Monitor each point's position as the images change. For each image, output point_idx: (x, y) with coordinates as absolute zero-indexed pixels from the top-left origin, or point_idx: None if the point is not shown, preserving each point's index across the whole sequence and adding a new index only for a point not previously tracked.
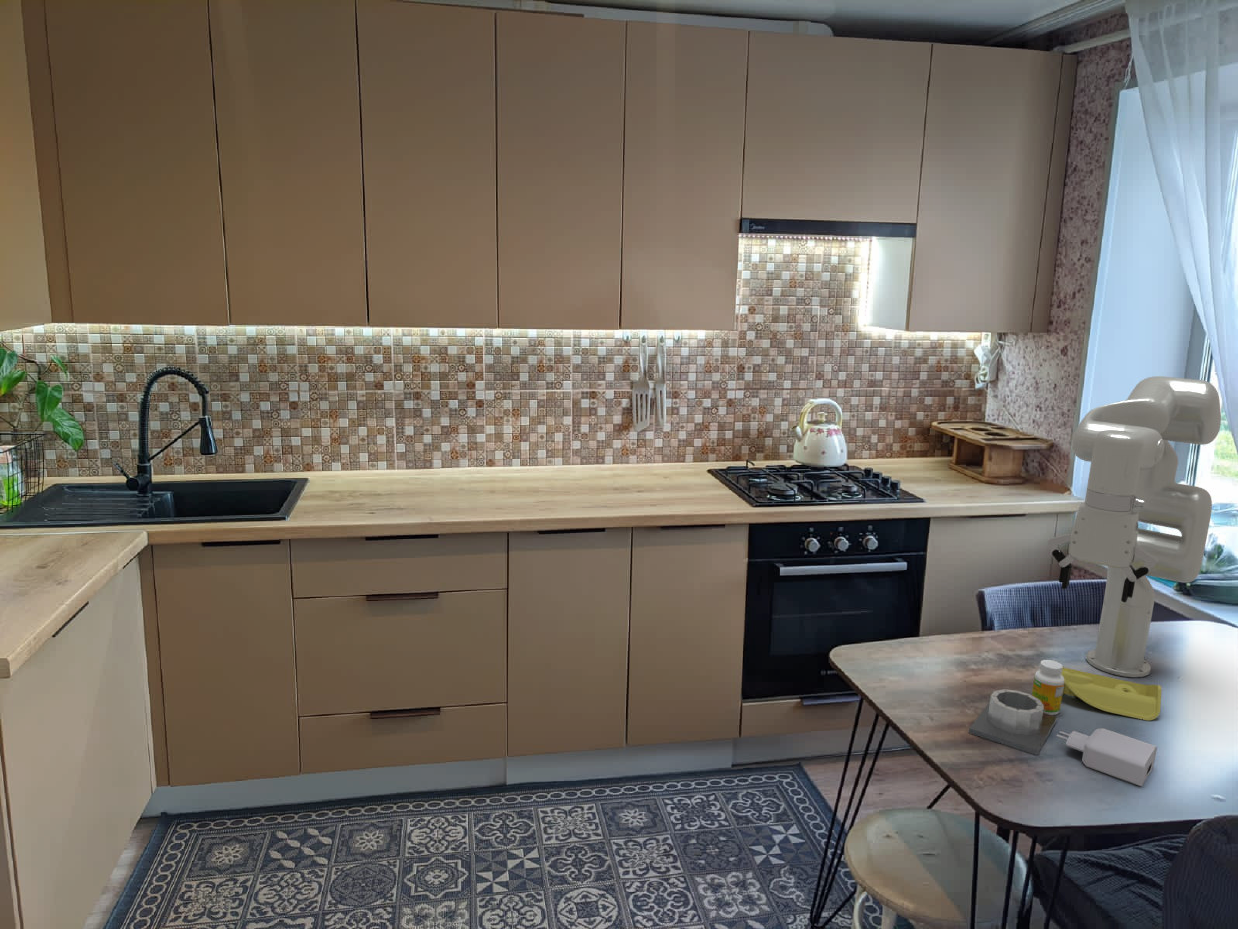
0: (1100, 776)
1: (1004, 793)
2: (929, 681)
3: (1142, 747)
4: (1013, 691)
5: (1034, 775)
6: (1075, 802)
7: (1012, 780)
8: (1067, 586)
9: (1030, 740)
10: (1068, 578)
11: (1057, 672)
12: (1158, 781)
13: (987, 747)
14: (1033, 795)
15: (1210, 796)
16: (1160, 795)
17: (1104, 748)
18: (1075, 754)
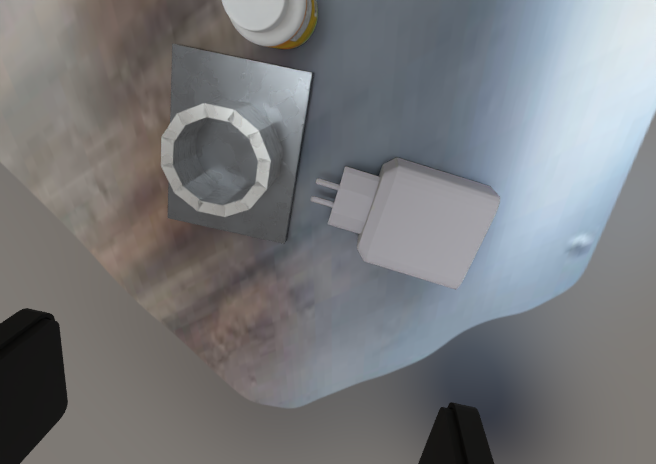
0: None
1: (255, 361)
2: (33, 3)
3: (465, 230)
4: (198, 113)
5: (288, 301)
6: (346, 346)
7: (260, 327)
8: (61, 363)
9: (270, 212)
10: (5, 429)
11: (276, 25)
12: None
13: (210, 248)
14: (291, 351)
15: (566, 246)
16: (476, 278)
17: (390, 263)
18: None
